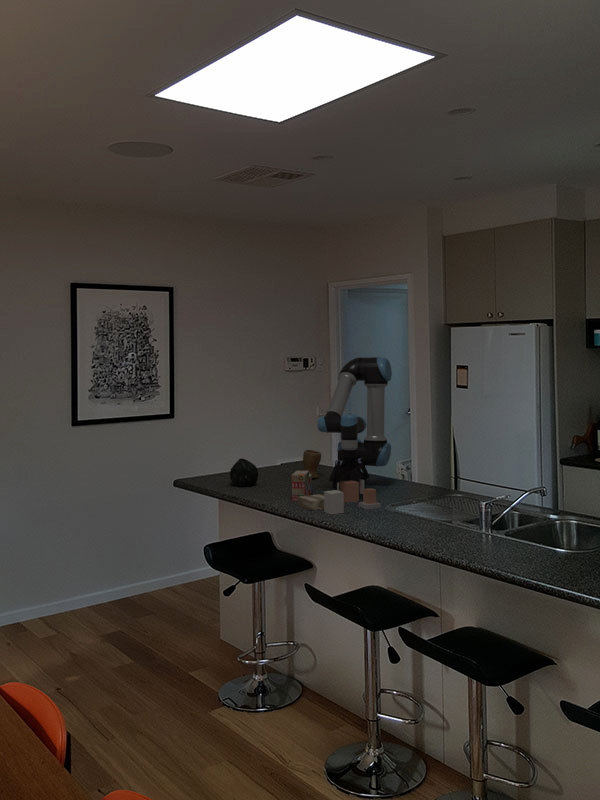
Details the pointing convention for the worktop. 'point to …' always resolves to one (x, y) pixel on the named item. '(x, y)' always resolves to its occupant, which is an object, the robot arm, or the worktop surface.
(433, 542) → the worktop surface
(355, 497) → the terracotta block
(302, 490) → the stack of blocks
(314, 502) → the birch base block
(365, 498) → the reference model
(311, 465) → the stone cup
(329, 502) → the off-white block
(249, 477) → the squash
